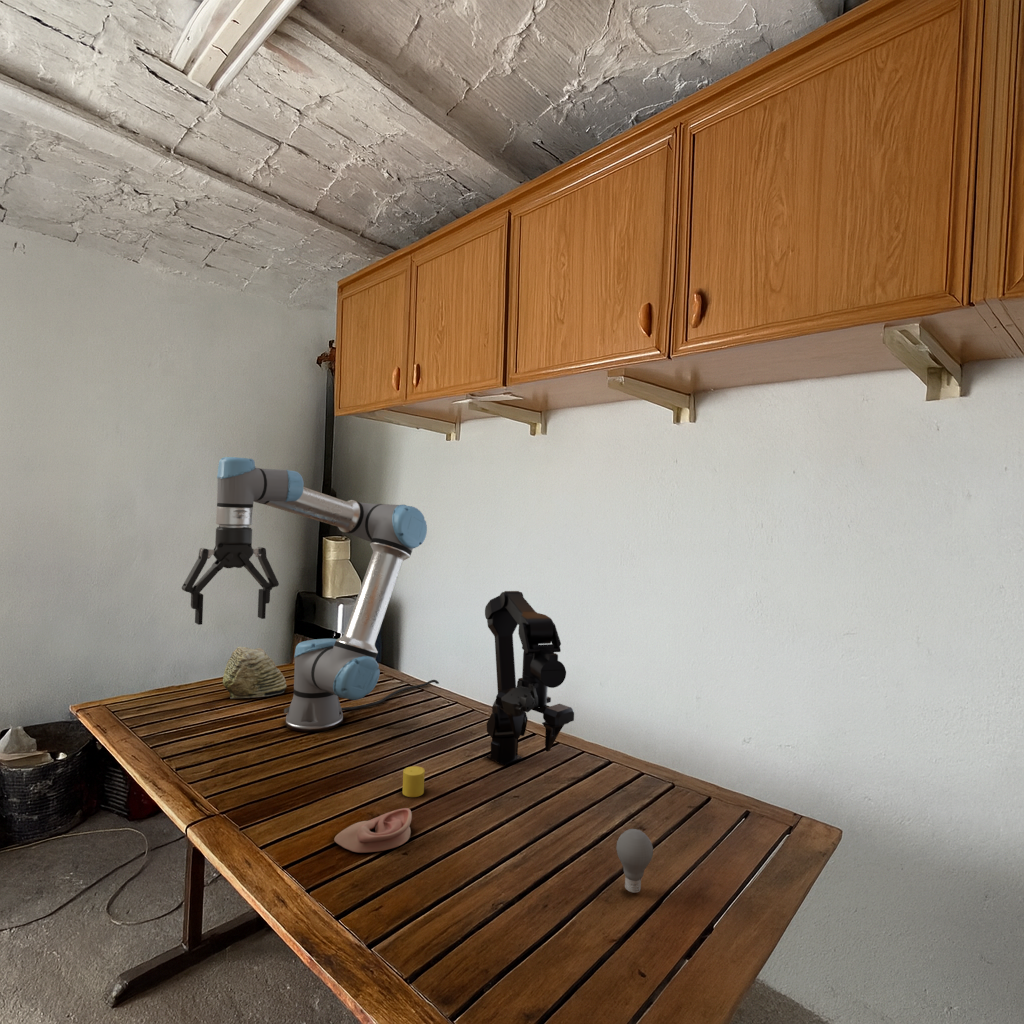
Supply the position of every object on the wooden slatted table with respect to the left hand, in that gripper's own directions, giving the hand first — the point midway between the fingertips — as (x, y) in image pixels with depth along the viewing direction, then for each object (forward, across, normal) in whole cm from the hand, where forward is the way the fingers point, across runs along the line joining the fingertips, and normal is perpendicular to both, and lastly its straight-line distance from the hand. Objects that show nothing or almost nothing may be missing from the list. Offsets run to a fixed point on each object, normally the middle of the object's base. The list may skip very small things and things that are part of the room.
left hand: (231, 620), depth 142 cm
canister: (+34, +29, -33) cm, 56 cm away
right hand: (+24, +49, -48) cm, 73 cm away
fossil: (+34, +25, +52) cm, 67 cm away
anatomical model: (+34, +12, -44) cm, 57 cm away
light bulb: (+34, +38, -85) cm, 99 cm away
